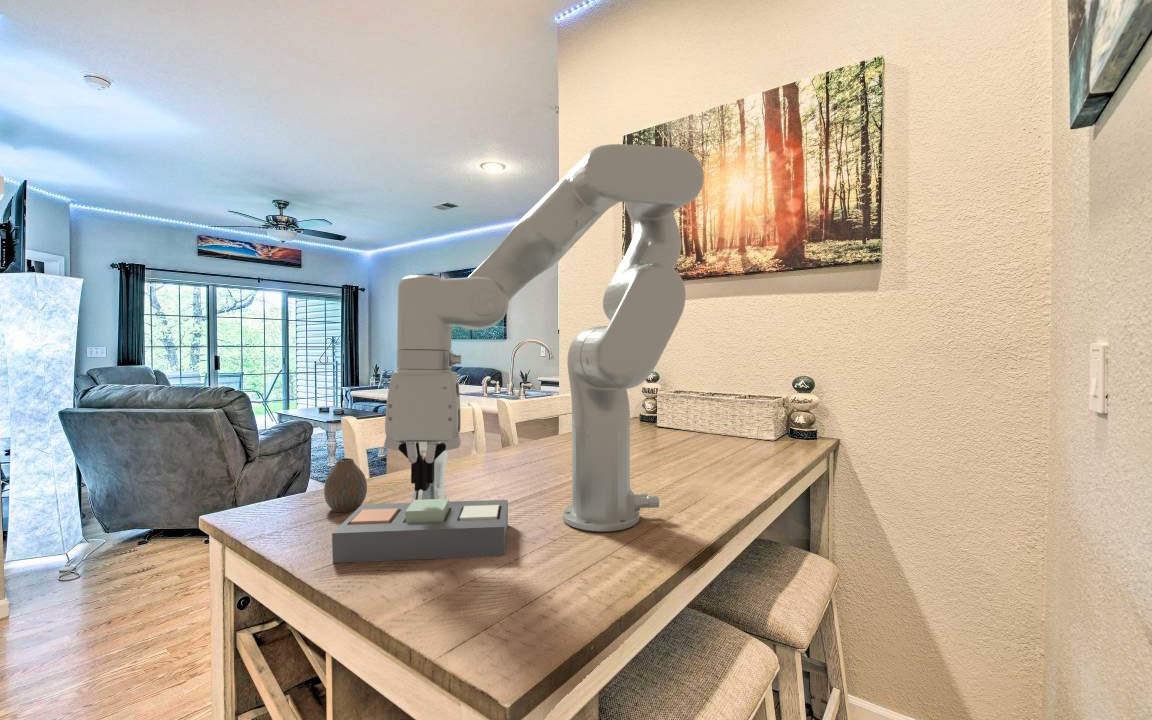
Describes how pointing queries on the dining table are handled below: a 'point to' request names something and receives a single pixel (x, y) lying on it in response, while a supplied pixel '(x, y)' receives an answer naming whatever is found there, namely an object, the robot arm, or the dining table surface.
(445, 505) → the sage button
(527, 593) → the dining table surface
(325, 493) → the vase
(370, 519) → the terracotta button
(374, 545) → the button panel
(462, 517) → the cream button
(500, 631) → the dining table surface
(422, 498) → the beer glass
